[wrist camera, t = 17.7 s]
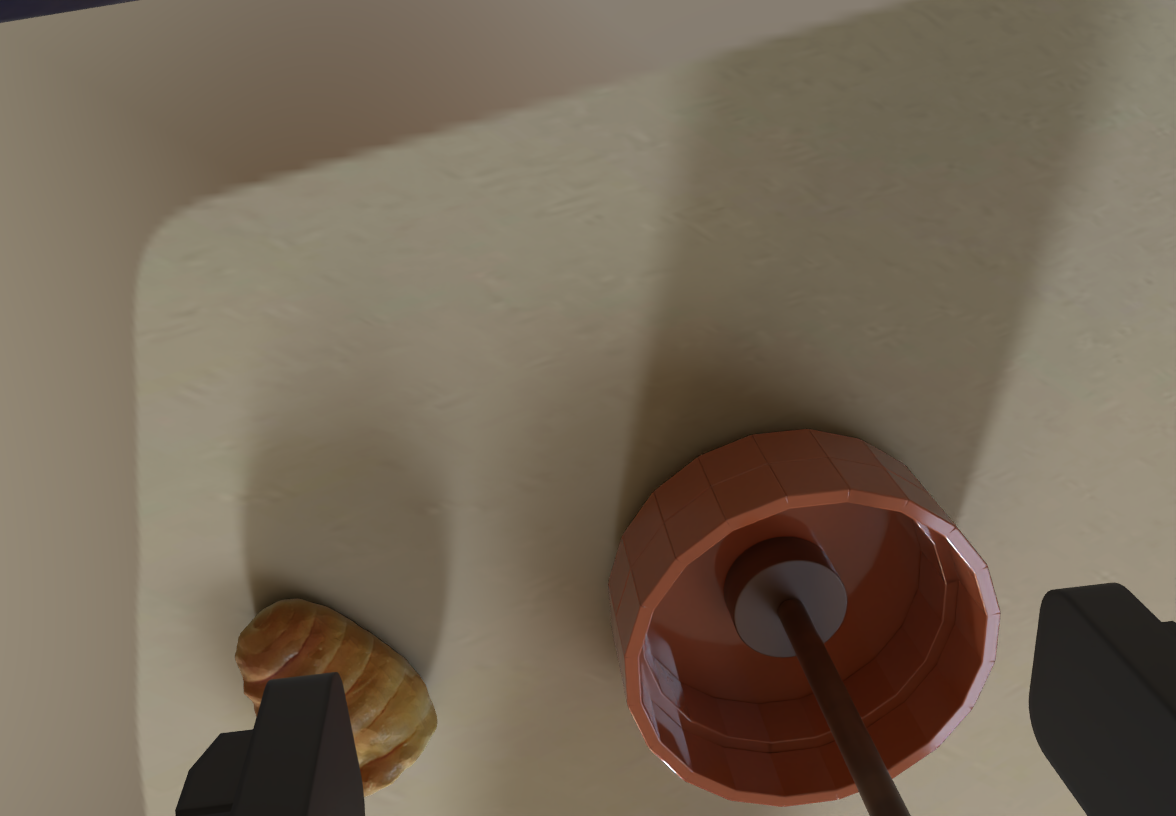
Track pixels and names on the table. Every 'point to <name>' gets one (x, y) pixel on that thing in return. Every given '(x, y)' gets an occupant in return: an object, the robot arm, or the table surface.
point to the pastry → (344, 681)
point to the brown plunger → (808, 645)
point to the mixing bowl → (858, 648)
